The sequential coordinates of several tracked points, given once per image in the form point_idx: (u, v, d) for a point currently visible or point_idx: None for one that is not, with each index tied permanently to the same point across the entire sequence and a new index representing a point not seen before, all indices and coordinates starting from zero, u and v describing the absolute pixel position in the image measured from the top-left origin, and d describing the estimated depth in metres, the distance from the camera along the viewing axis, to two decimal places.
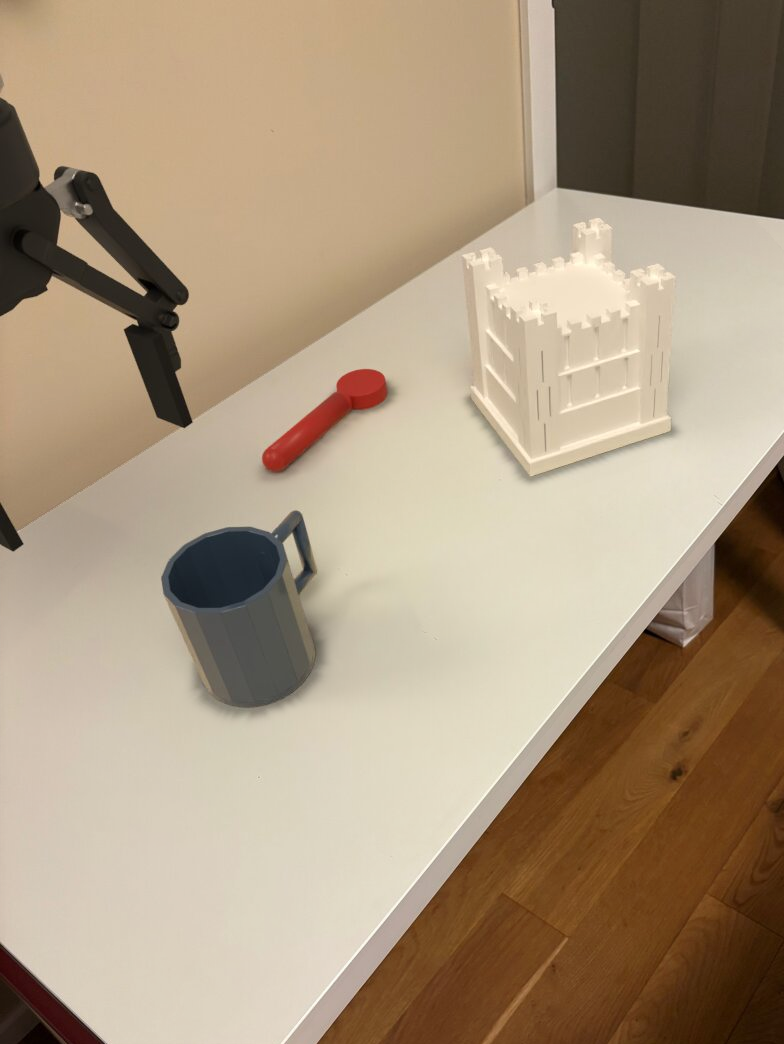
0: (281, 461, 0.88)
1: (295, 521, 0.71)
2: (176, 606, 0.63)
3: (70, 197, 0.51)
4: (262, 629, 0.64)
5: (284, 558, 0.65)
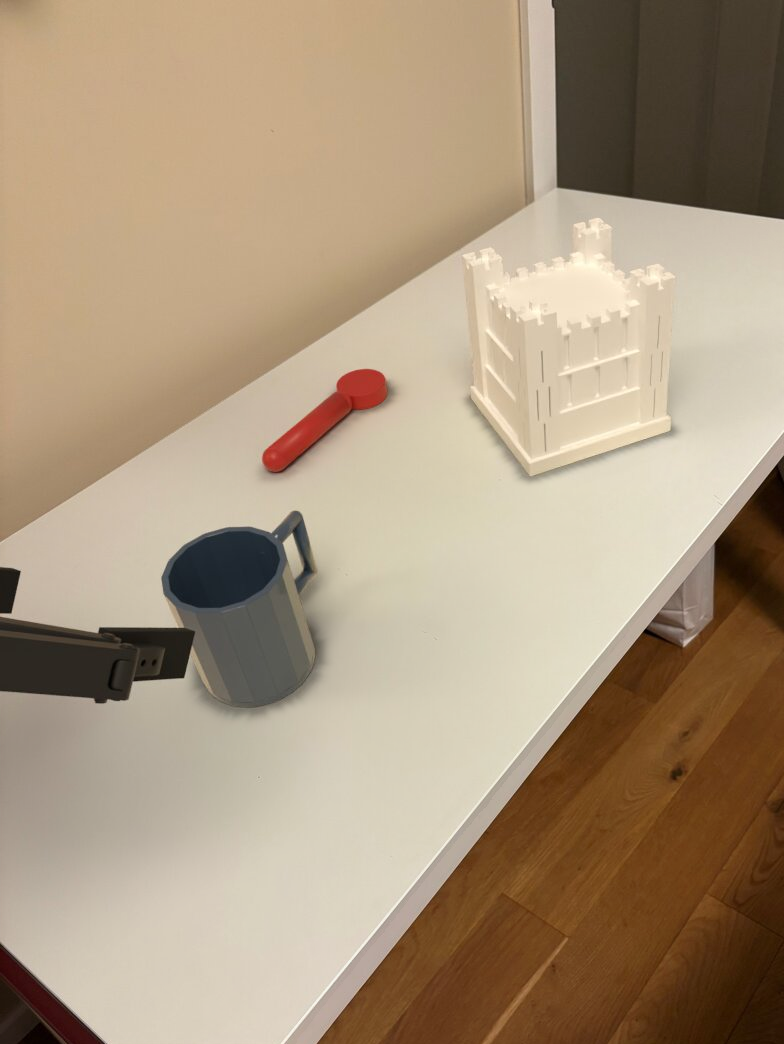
0: (281, 461, 0.88)
1: (295, 521, 0.71)
2: (176, 606, 0.63)
3: None
4: (262, 629, 0.64)
5: (284, 558, 0.65)
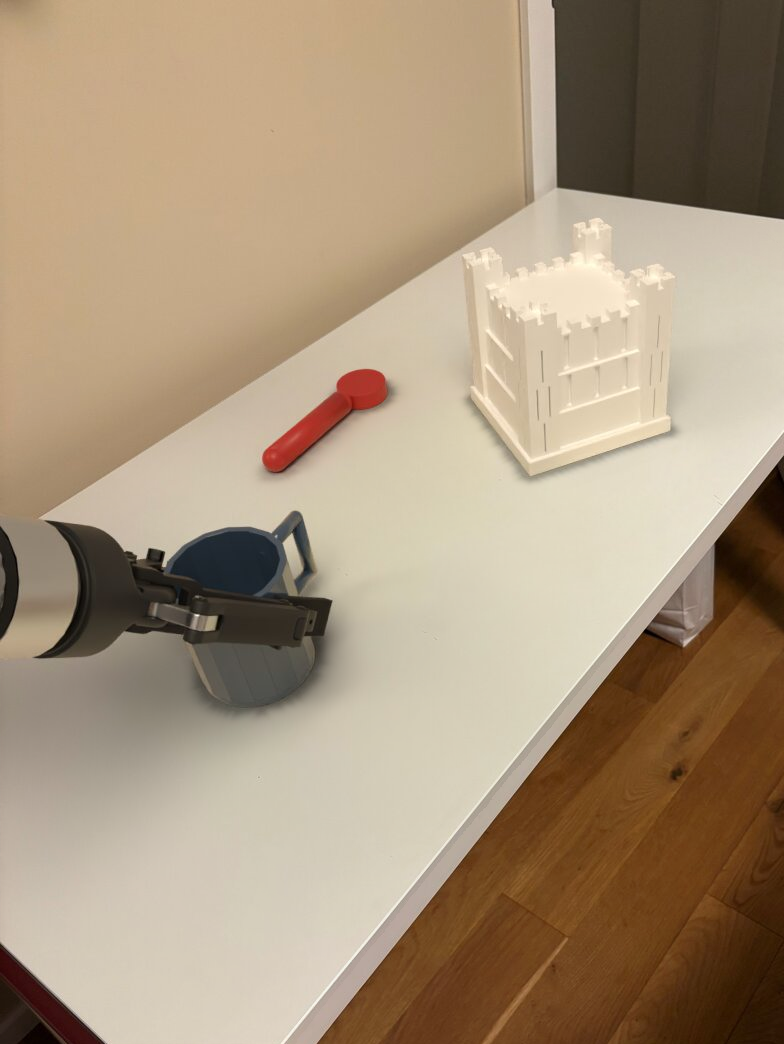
0: (281, 461, 0.88)
1: (295, 521, 0.71)
2: None
3: None
4: None
5: (284, 558, 0.65)
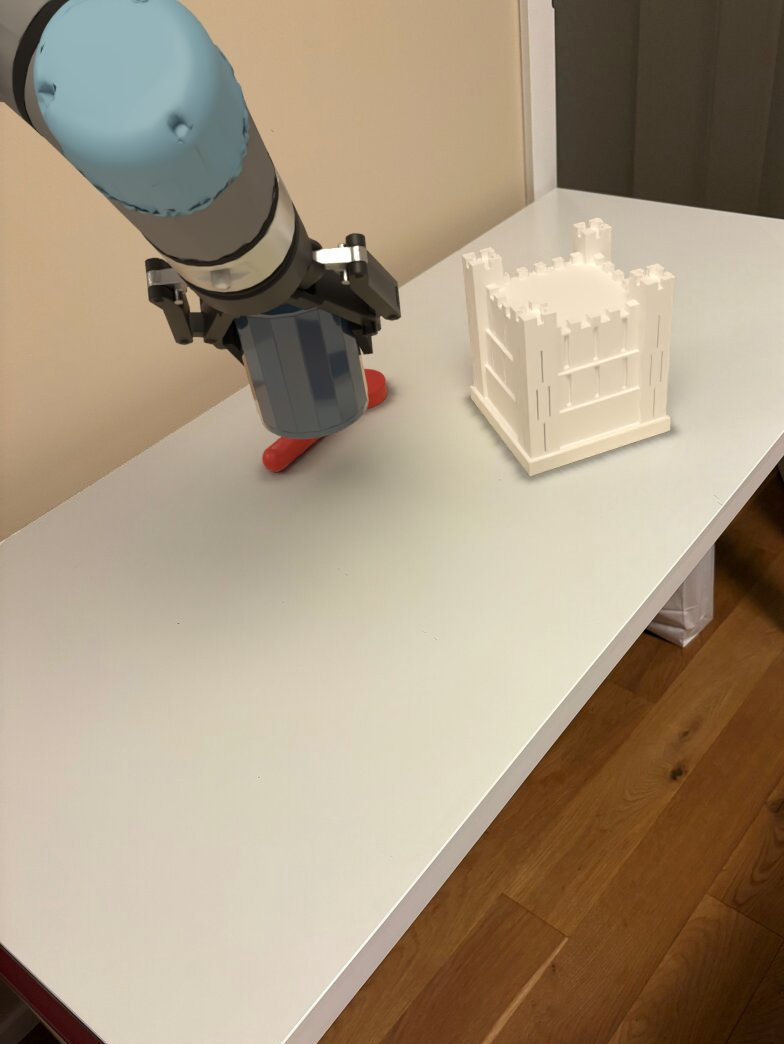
0: (281, 461, 0.88)
1: None
2: (270, 318, 0.65)
3: (340, 267, 0.58)
4: (345, 330, 0.68)
5: None
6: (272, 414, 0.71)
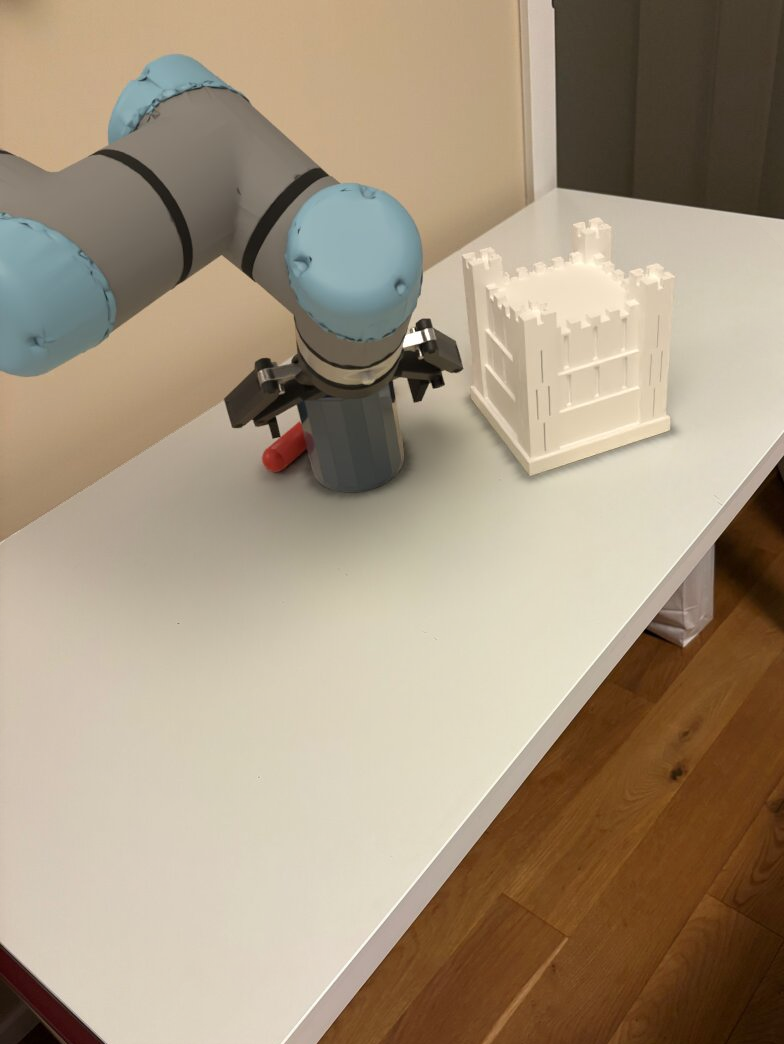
0: (281, 461, 0.88)
1: None
2: (341, 400, 0.78)
3: (415, 347, 0.72)
4: (392, 399, 0.83)
5: None
6: (335, 475, 0.85)
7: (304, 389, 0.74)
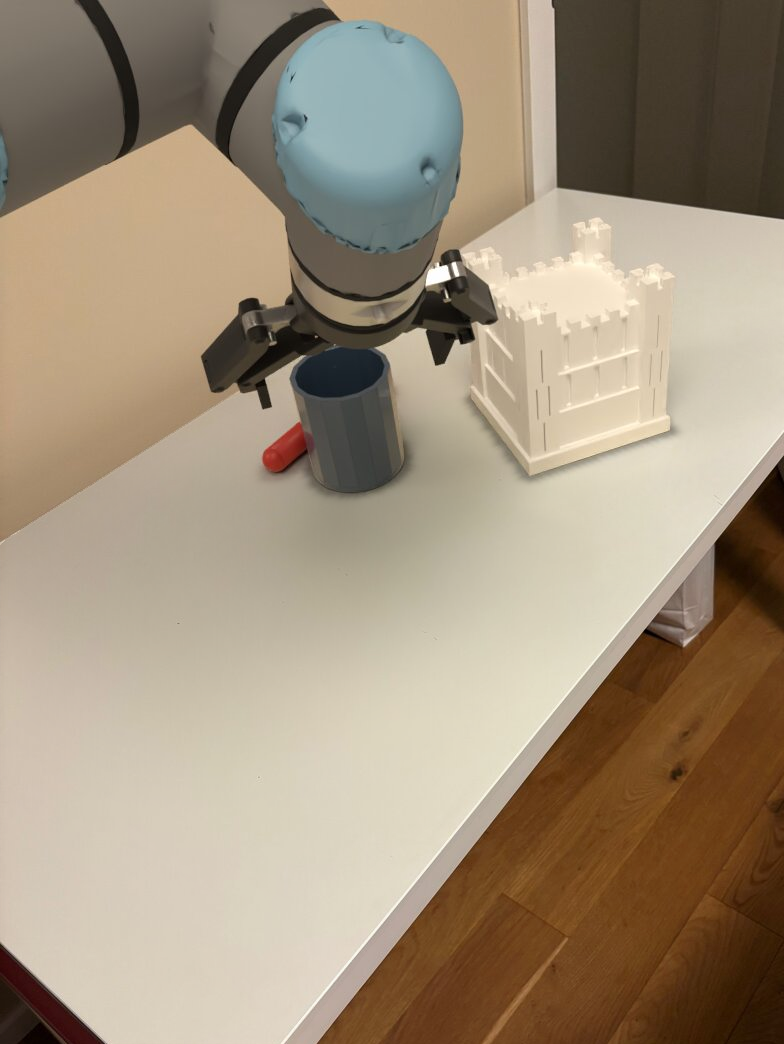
0: (281, 461, 0.88)
1: None
2: (341, 400, 0.78)
3: (440, 286, 0.58)
4: (392, 399, 0.83)
5: (372, 348, 0.83)
6: (335, 475, 0.85)
7: (301, 341, 0.59)
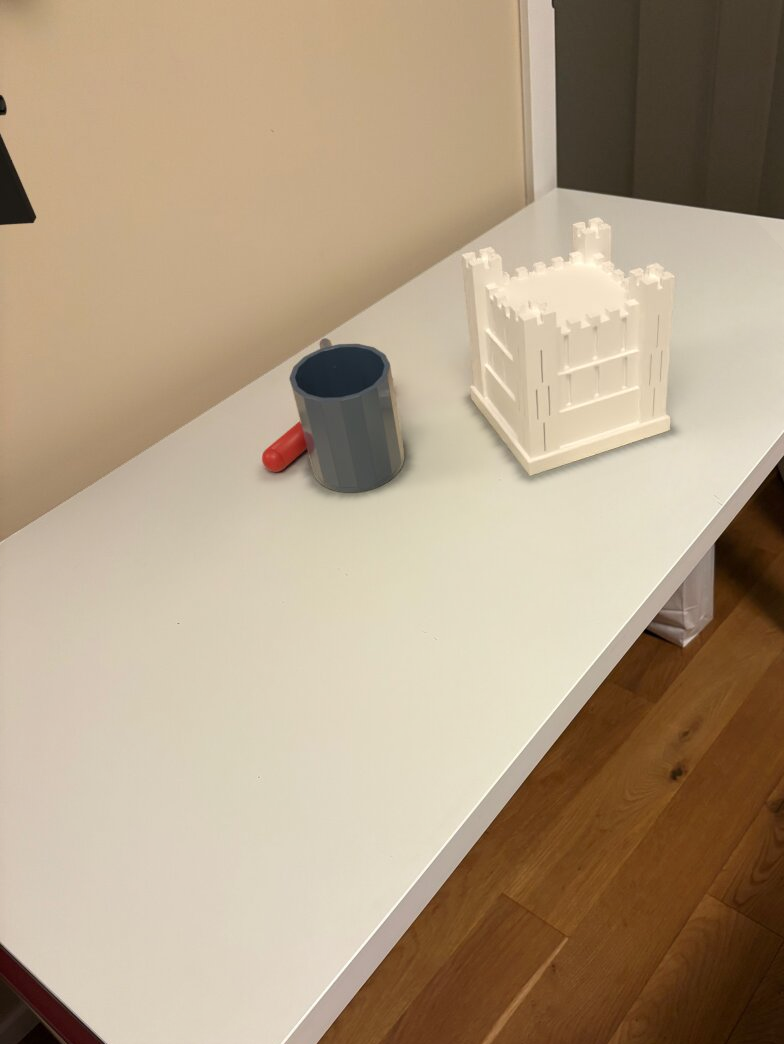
0: (281, 461, 0.88)
1: None
2: (341, 400, 0.78)
3: None
4: (392, 399, 0.83)
5: (372, 348, 0.83)
6: (335, 475, 0.85)
7: None
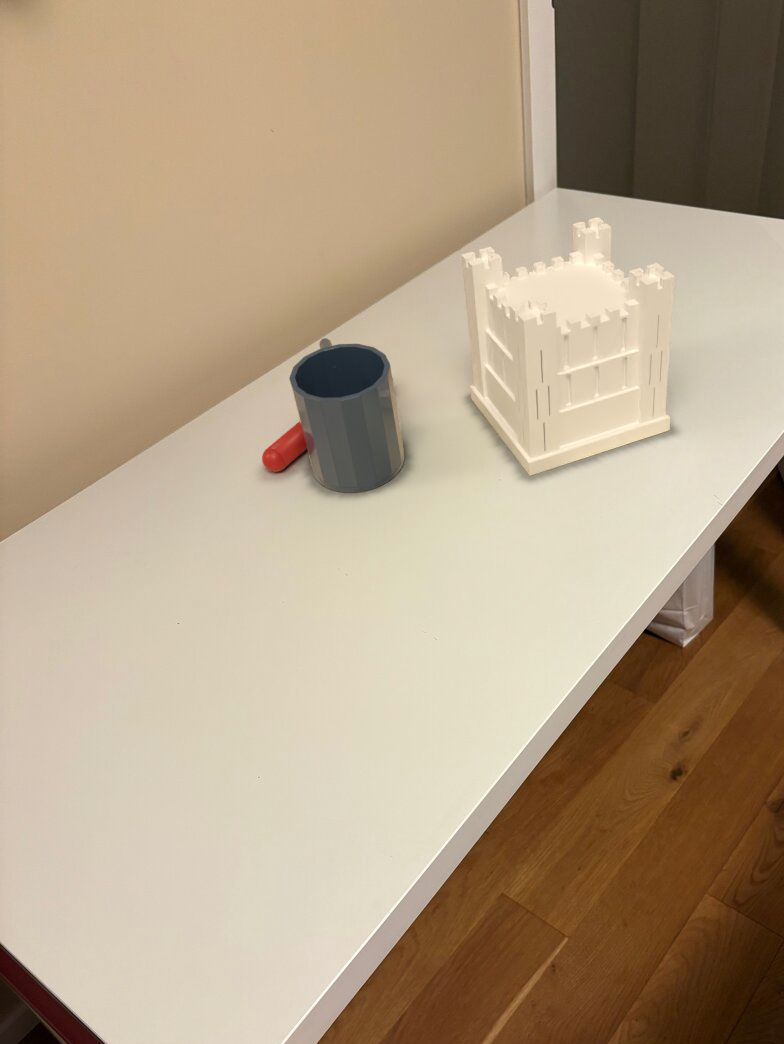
0: (281, 461, 0.88)
1: None
2: (341, 400, 0.78)
3: None
4: (392, 399, 0.83)
5: (372, 348, 0.83)
6: (335, 475, 0.85)
7: None
